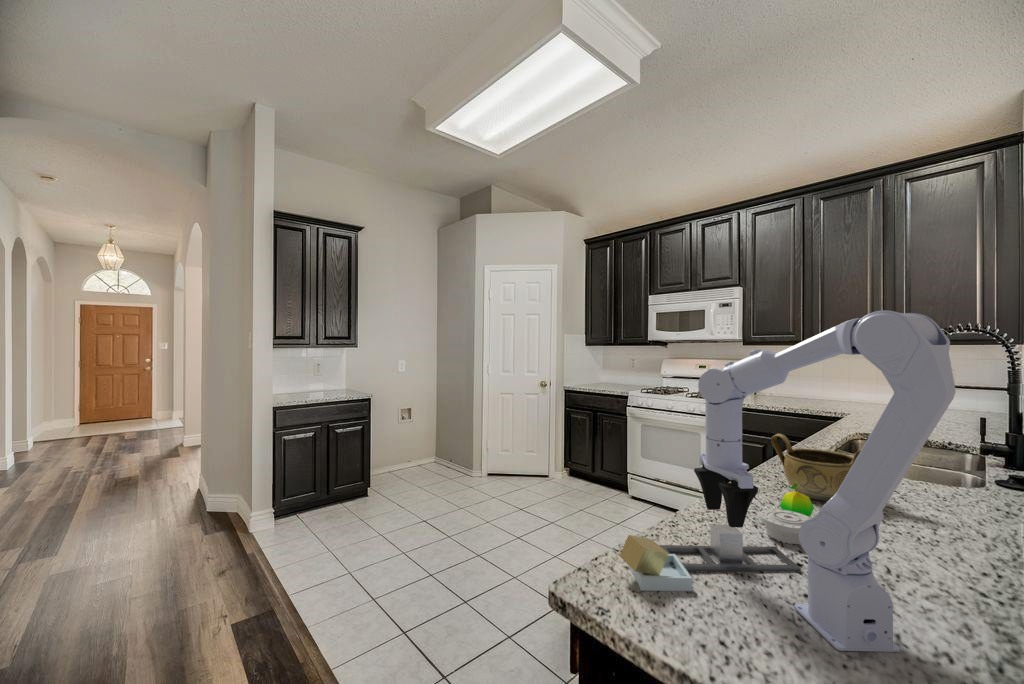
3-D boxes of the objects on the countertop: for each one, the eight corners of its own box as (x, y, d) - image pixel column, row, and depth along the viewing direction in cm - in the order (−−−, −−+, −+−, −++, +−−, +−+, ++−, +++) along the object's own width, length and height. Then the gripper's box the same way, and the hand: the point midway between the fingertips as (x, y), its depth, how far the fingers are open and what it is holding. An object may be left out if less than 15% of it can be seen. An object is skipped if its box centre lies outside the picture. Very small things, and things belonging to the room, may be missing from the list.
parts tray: (692, 591, 71) (692, 578, 71) (640, 590, 71) (640, 577, 71) (674, 565, 79) (674, 554, 79) (628, 565, 80) (628, 553, 80)
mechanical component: (754, 517, 90) (766, 504, 98) (754, 538, 90) (766, 524, 98) (812, 531, 84) (821, 516, 91) (812, 554, 84) (821, 537, 91)
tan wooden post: (668, 553, 75) (644, 548, 72) (659, 575, 75) (634, 571, 72) (652, 539, 78) (628, 534, 76) (643, 560, 78) (619, 556, 76)
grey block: (742, 567, 79) (742, 533, 79) (719, 567, 79) (719, 533, 79) (732, 556, 83) (732, 524, 83) (710, 556, 83) (710, 524, 83)
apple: (790, 513, 104) (790, 475, 104) (819, 523, 98) (819, 482, 98) (772, 519, 100) (772, 480, 100) (802, 530, 95) (802, 487, 95)
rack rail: (800, 573, 77) (800, 568, 77) (672, 571, 77) (672, 565, 77) (774, 552, 85) (774, 546, 85) (658, 550, 85) (658, 545, 85)
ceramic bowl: (761, 494, 117) (761, 437, 118) (783, 480, 129) (783, 429, 129) (868, 519, 101) (868, 453, 101) (882, 501, 112) (882, 442, 112)
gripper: (772, 448, 69) (772, 534, 69) (725, 430, 84) (725, 502, 84) (727, 448, 69) (728, 535, 69) (688, 430, 84) (688, 502, 84)
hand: (724, 517), depth 76 cm, fingers open, 7 cm apart
